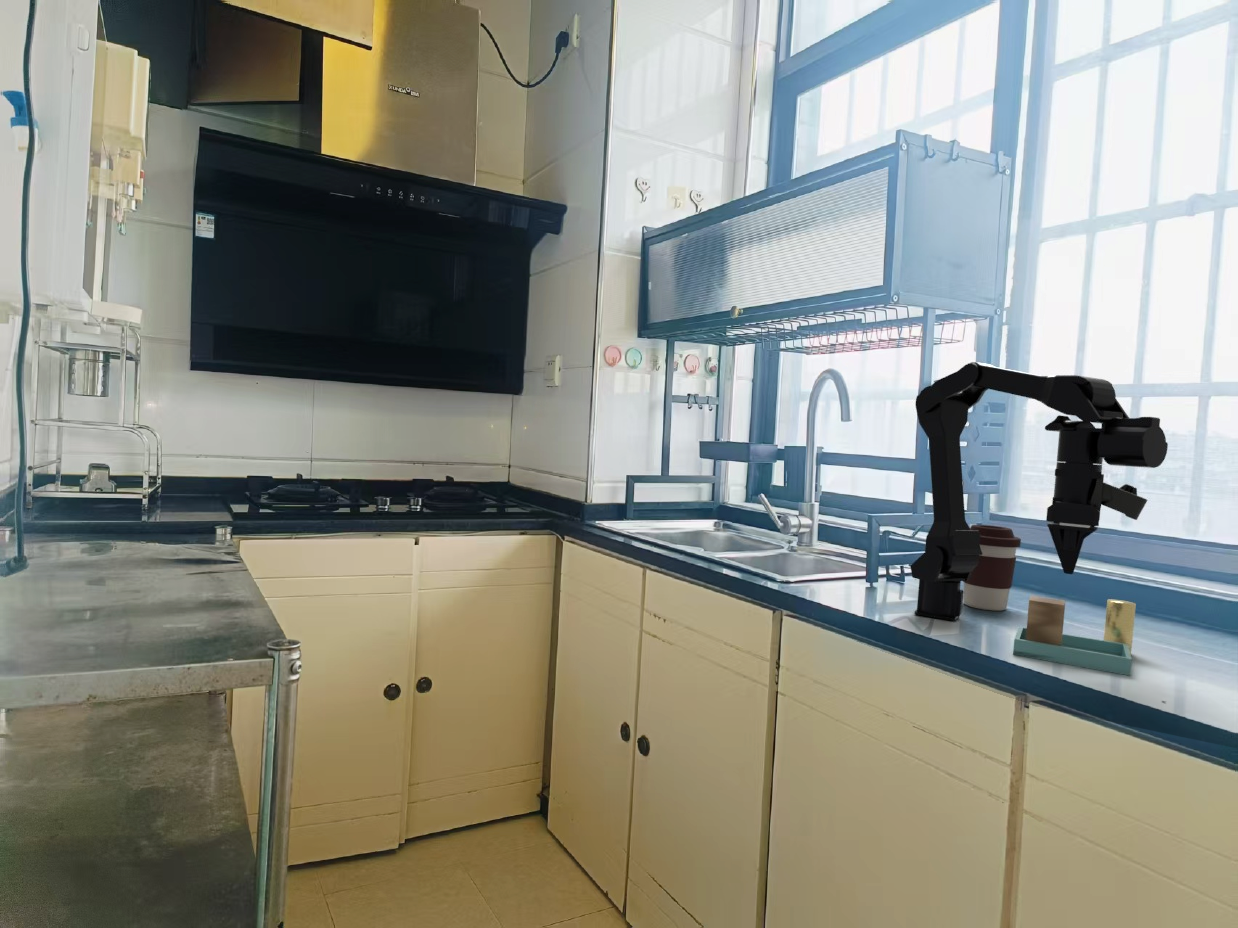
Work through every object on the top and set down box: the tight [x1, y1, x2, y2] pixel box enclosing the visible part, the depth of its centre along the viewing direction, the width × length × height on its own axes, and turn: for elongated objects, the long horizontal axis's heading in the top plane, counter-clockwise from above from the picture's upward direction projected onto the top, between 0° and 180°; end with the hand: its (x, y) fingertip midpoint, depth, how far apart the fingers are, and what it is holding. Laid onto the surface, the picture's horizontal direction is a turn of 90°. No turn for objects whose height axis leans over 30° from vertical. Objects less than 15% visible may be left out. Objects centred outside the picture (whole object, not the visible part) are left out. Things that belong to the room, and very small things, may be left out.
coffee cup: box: [962, 524, 1022, 612], centre depth 145 cm, size 10×10×15 cm
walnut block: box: [1026, 595, 1066, 646], centre depth 113 cm, size 4×4×7 cm
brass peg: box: [1103, 598, 1137, 655], centre depth 116 cm, size 4×4×8 cm
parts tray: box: [1012, 626, 1133, 676], centre depth 111 cm, size 14×10×2 cm
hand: (1069, 570), depth 113 cm, fingers open, 9 cm apart
